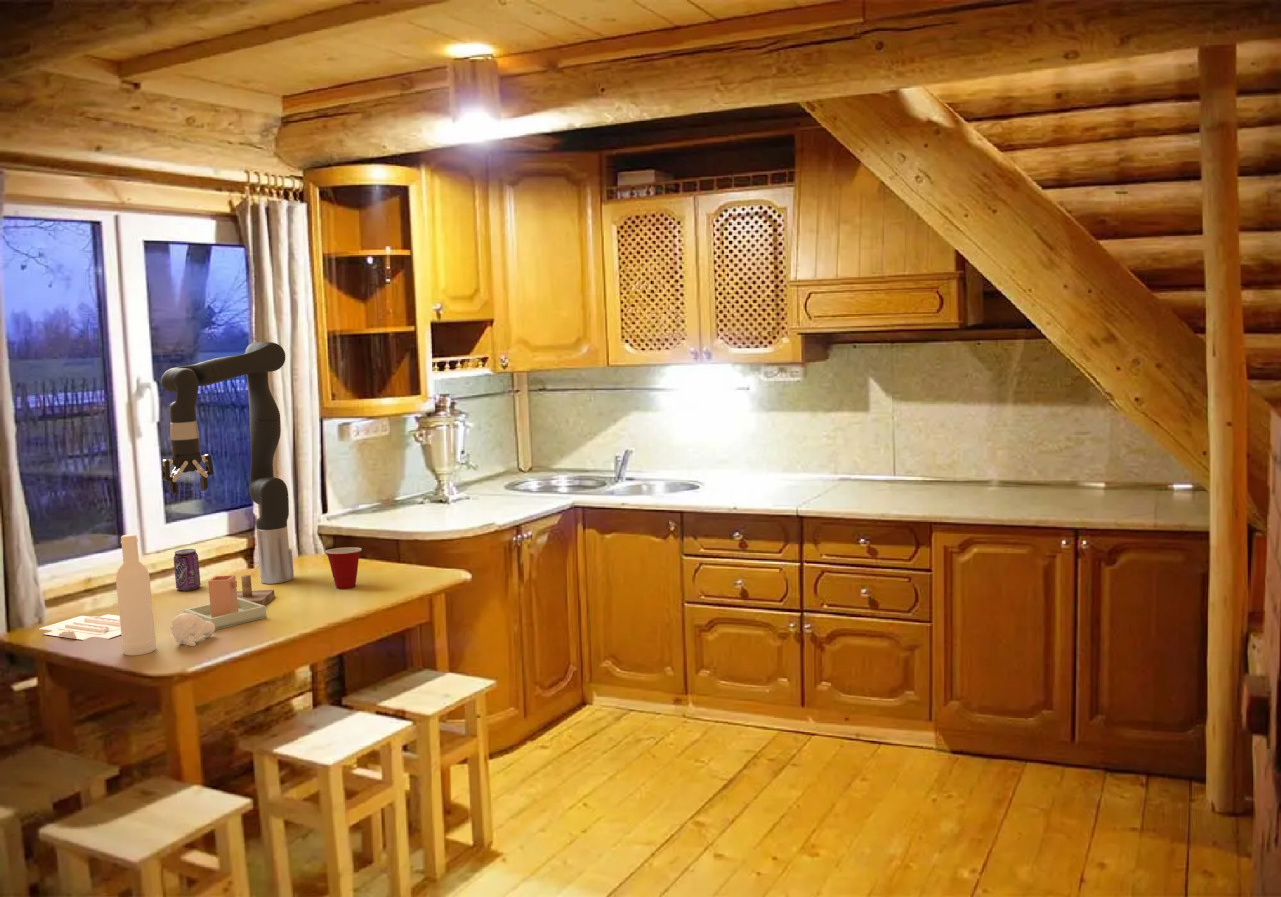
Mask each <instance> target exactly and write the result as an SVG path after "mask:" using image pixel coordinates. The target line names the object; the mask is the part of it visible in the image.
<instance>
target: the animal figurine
mask: <svg viewBox="0 0 1281 897" xmlns="http://www.w3.org/2000/svg"><path fill="white" fill-rule="evenodd" d="M170 630H171V631H172V636H173V637H174V639H175V642H176V643H178V644H179V645H183V644H185V645H187V646H188V647H195V646H196V645H197V644H196V642H195V641H197V640H199V639H200V638H201V637H205V639H207V638H212V636H213V634H214V632H215V631H216V630H215V625H214V623H213V622H211V621H204V620H203V619H202V618H199V616H197V615H194V614H191V613H184V612H183V613H180V614H178V615H176V616H175V617H174V618H173V620H172V622H171V626H170ZM189 636H193V639H194V640H195V641H194V640H192V639H189Z"/></svg>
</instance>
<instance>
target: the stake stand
mask: <svg viewBox="0 0 1281 897" xmlns="http://www.w3.org/2000/svg"><path fill="white" fill-rule="evenodd" d="M240 576H241V577H240V578H241V579H240V580H241V589H242V590H241V591H240V590H239V591H238V590H237V597H238V598H242V599H245V600H248V601H251V602H254V603H257V604H261V605H264V606H266V605H267V604H268V603H269V602H270V601H271V600H272V599H273V598H274V597H275V596H276V595H275V590H274V589H263V590H262V589H261V590H252V589H253V588H252V587H253V586H252V576H251V574H243V575H240Z"/></svg>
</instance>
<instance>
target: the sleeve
mask: <svg viewBox="0 0 1281 897" xmlns="http://www.w3.org/2000/svg"><path fill="white" fill-rule="evenodd" d="M236 577H237V576H236V575H234V574H233V575H231V574H230V575H215V576H213V577H212V578H210V579H209V580H207V583H208V593H209V594H208V595H209V604H210V608H211V617H212V618H213V617H218V616H222V615H226V614H230V613H234V612H238V600H237V591H238V590H237V588H238V585H237V584H238V582H237V578H236Z"/></svg>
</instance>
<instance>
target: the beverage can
mask: <svg viewBox="0 0 1281 897" xmlns="http://www.w3.org/2000/svg"><path fill="white" fill-rule="evenodd" d="M199 561H200V560H199V554H198V553H197V550H196V548H184V549H183V548H182V549H179V550H175V551H174V556H173V566H174V568H173V569H174V578H175V588H176V589H177V590H180V591H185V592H187V591H194V590H196V589H198V588H199V587H200V586H201V585H202V584H201V575H200V572H201V571H200V563H199Z"/></svg>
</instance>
